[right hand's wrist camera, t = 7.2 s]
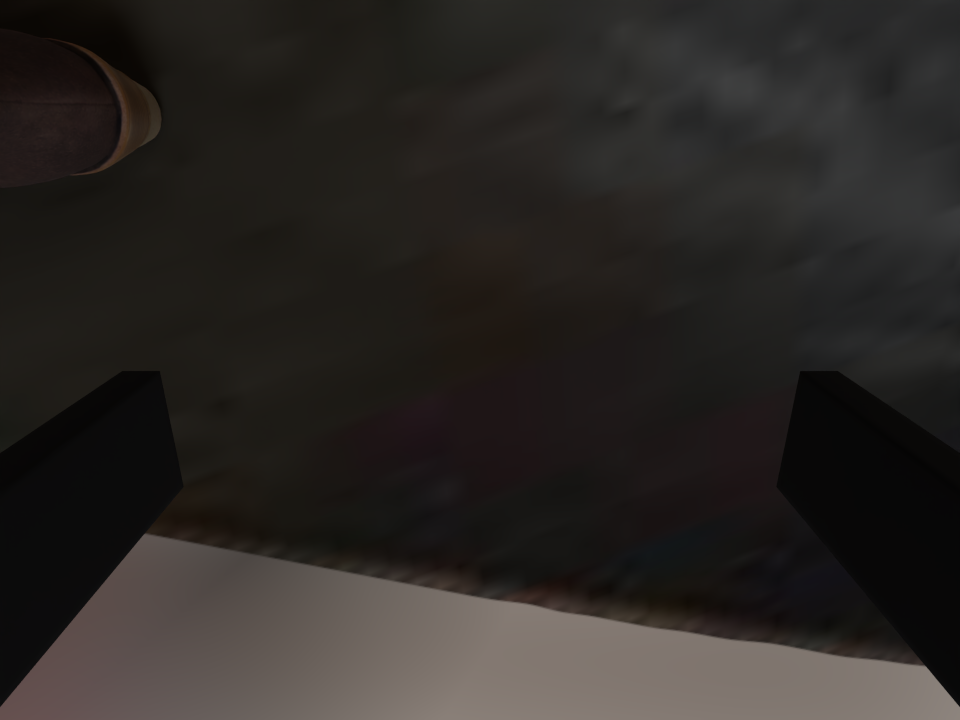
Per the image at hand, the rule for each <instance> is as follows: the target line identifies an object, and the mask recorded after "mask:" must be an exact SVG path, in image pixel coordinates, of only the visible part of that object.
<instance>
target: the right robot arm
mask: <svg viewBox="0 0 960 720" xmlns="http://www.w3.org/2000/svg"><path fill="white" fill-rule="evenodd" d="M182 488H183V482H182V477H181V472H180V467H179V463H178V458H177V453H176V448H175V443H174V438H173V433H172V429H171V424H170V419H169V414H168V409H167V404H166V400H165V395H164V390H163V385H162V380H161V375H160V371H122V372H120V373H119V374H117V375H116V376H114V377H113V378H111V379H110V380H108V381H107V382H105V383H104V384H103V385H101V386H100V387H98V388H97V389H95V390H94V391H92V392H91V393H89V394H88V395H86V396H85V397H83V398H82V399H80V400H79V401H77V402H76V403H74V404H73V405H71V406H70V407H68V408H67V409H65V410H64V411H62V412H61V413H59V414H58V415H56V416H55V417H53V418H52V419H51V420H49V421H48V422H46V423H45V424H43V425H42V426H40V427H39V428H37V429H36V430H34V431H33V432H31V433H30V434H28V435H27V436H25V437H24V438H22V439H21V440H19V441H18V442H16V443H15V444H13V445H12V446H10V447H9V448H7V449H6V450H4V451H3V452H1V453H0V706H1V705H2V704H3V703H4V702H5V700H6V699H7V698H8V697H9V696H10V694H11V693H12V692H13V691H14V690H15V688H16V687H17V686H18V685H19V684H20V683H21V681H22V680H23V679H24V678H25V676H26V675H27V674H28V673H29V672H30V670H31V669H32V668H33V667H34V666H35V664H36V663H37V662H38V661H39V660H40V658H41V657H42V656H43V655H44V654H45V652H46V651H47V650H48V649H49V648H50V646H51V645H52V644H53V643H54V642H55V640H56V639H57V638H58V637H59V636H60V634H61V633H62V632H63V631H64V630H65V628H66V627H67V626H68V625H69V624H70V622H71V621H72V620H73V619H74V618H75V616H76V615H77V614H78V613H79V612H80V610H81V609H82V608H83V607H84V606H85V604H86V603H87V602H88V601H89V600H90V598H91V597H92V596H93V595H94V594H95V592H96V591H97V590H98V589H99V588H100V586H101V585H102V584H103V583H104V582H105V580H106V579H107V578H108V577H109V576H110V574H111V573H112V572H113V571H114V570H115V568H116V567H117V566H118V565H119V564H120V562H121V561H122V560H123V559H124V558H125V556H126V555H127V554H128V553H129V552H130V550H131V549H132V548H133V547H134V546H135V544H136V543H137V542H138V541H139V540H140V538H141V537H142V536H143V535H144V534H145V532H146V531H147V530H148V529H149V528H150V526H151V525H152V524H153V523H154V522H155V520H156V519H157V518H158V517H159V516H160V514H161V513H162V512H163V511H164V510H165V508H166V507H167V506H168V505H169V504H170V502H171V501H172V500H173V499H174V497H175V496H176V495H177V494H178V493H179V491H180V490H181V489H182ZM777 488H778V489H779V490H780V491H781V493H782V494H783V495H784V496H785V497H786V499H787V500H788V501H789V502H790V504H791V505H792V506H793V507H794V508H795V510H796V511H797V512H798V513H799V514H800V516H801V517H802V518H803V519H804V520H805V522H806V523H807V524H808V525H809V526H810V528H811V529H812V530H813V531H814V532H815V534H816V535H817V536H818V537H819V538H820V540H821V541H822V542H823V543H824V544H825V546H826V547H827V548H828V549H829V550H830V552H831V553H832V554H833V555H834V556H835V558H836V559H837V560H838V561H839V562H840V564H841V565H842V566H843V567H844V568H845V570H846V571H847V572H848V573H849V574H850V576H851V577H852V578H853V579H854V580H855V582H856V583H857V584H858V585H859V586H860V588H861V589H862V590H863V591H864V592H865V594H866V595H867V596H868V597H869V598H870V600H871V601H872V602H873V603H874V604H875V606H876V607H877V608H878V609H879V610H880V612H881V613H882V614H883V615H884V616H885V618H886V619H887V620H888V621H889V622H890V624H891V625H892V626H893V627H894V628H895V630H896V631H897V632H898V633H899V634H900V636H901V637H902V638H903V639H904V640H905V642H906V643H907V644H908V645H909V646H910V648H911V649H912V650H913V651H914V652H915V654H916V655H917V656H918V657H919V658H920V660H921V661H922V662H923V663H924V664H925V666H926V667H927V668H928V669H929V670H930V672H931V673H932V674H933V675H934V676H935V678H936V679H937V680H938V681H939V683H940V684H941V685H942V686H943V687H944V689H945V690H946V691H947V692H948V693H949V695H950V696H951V697H952V698H953V699H954V701H955V702H956V703H957V704H958V705H959V706H960V453H959V452H957V451H956V450H954V449H953V448H951V447H950V446H948V445H947V444H945V443H944V442H942V441H941V440H939V439H938V438H936V437H935V436H933V435H932V434H930V433H929V432H927V431H926V430H924V429H923V428H921V427H920V426H918V425H917V424H915V423H914V422H912V421H911V420H909V419H908V418H907V417H905V416H904V415H902V414H901V413H899V412H898V411H896V410H895V409H893V408H892V407H890V406H889V405H887V404H886V403H884V402H883V401H881V400H880V399H878V398H877V397H875V396H874V395H872V394H871V393H869V392H868V391H866V390H865V389H863V388H862V387H860V386H859V385H857V384H856V383H854V382H853V381H852V380H850V379H849V378H847V377H846V376H844V375H843V374H841V373H840V372H838V371H800V375H799V380H798V385H797V390H796V395H795V400H794V404H793V409H792V414H791V419H790V424H789V429H788V433H787V438H786V443H785V448H784V453H783V458H782V463H781V467H780V472H779V477H778V482H777Z"/></svg>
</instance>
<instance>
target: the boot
mask: <svg viewBox="0 0 960 720" xmlns="http://www.w3.org/2000/svg"><path fill="white" fill-rule="evenodd" d="M160 127H161V112H160V108H159V105H158V103H157V101H156V99H155V97H154V96H153V95H152V94H151V92H149V91H148V90H147V89H146V88H145V87H143V86H141V85H140V84H138V83H136V82H135V81H133V80H131V79H130V78H129V77H128V76H126V75H125V74H124V73H122V72H120V71H119V70H116V69H115V68H113V67H112V66H111V65H109V64H108V63H107V62H105V61H104V60H103V59H101V58H100V57H99V56H97V55H96V54H94V53H93V52H91V51H90V50H87V49H85V48H83V47H81V46H78V45H75V44H73V43H69V42H65V41H60V40H56V39H52V38H40V37H37V36H34V35H30V34H27V33H23V32H19V31H14V30H8V29H0V188H9V187H20V186H26V185H32V184H37V183H43V182H48V181H52V180H56V179H60V178H63V177H66V176H68V175H83V174H91V173H96V172H99V171H102V170H104V169H106V168H108V167H110V166H112V165H113V164H115V163H116V162H118V161H119V160H121V159H122V158H124V157H125V156H127V155H128V154H130V153H131V152H133V151H134V150H136V149H137V148H138V147H140V146H142V145H144V144H146V143H147V142H149V141H151V140H152V139H153V138H155V136H156V135H157V134H158V132H159V130H160Z"/></svg>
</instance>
